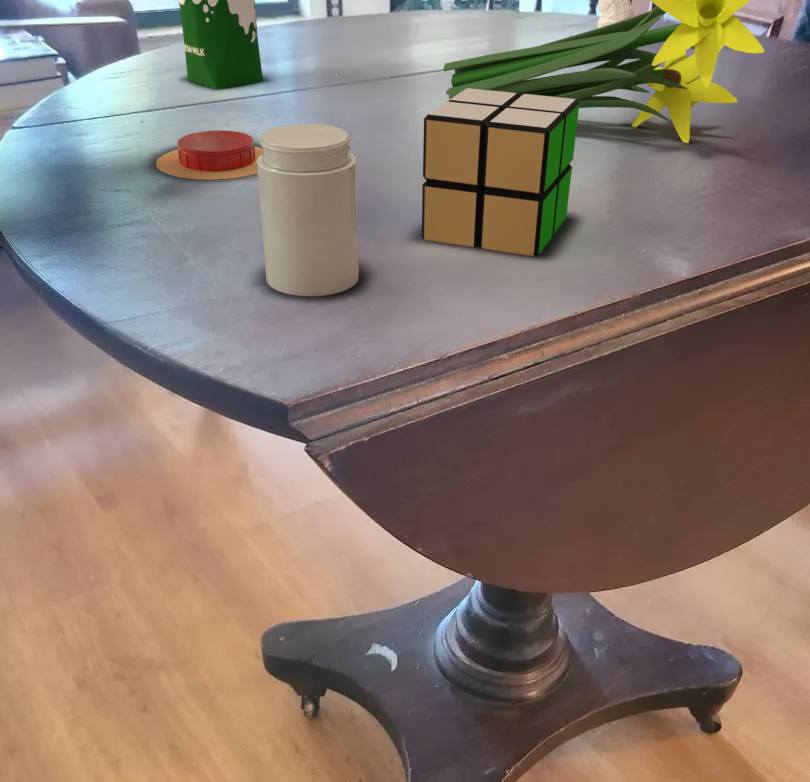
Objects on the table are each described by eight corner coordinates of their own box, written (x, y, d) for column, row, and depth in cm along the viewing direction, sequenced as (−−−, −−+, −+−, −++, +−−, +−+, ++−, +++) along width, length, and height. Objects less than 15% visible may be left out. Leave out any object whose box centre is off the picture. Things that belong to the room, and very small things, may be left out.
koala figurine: (586, 40, 147) (596, -50, 140) (629, 42, 146) (642, -49, 138) (582, 50, 140) (592, -43, 133) (627, 53, 139) (641, -41, 132)
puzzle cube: (458, 205, 85) (464, 86, 79) (566, 221, 82) (581, 98, 76) (419, 243, 78) (422, 114, 72) (536, 261, 75) (549, 129, 69)
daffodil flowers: (483, 106, 117) (785, 44, 102) (467, 200, 112) (782, 149, 97) (434, -12, 103) (777, -104, 88) (413, 89, 98) (772, 9, 83)
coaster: (136, 177, 91) (135, 173, 90) (185, 143, 100) (184, 139, 100) (253, 187, 89) (253, 183, 88) (292, 152, 98) (292, 148, 98)
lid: (223, 176, 90) (221, 155, 89) (164, 163, 93) (161, 143, 92) (269, 156, 95) (268, 137, 94) (212, 145, 98) (209, 126, 97)
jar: (253, 295, 69) (239, 145, 63) (283, 260, 75) (273, 118, 68) (345, 305, 68) (340, 153, 62) (368, 268, 73) (366, 125, 67)
